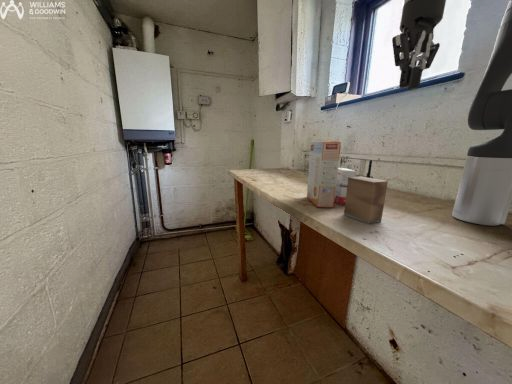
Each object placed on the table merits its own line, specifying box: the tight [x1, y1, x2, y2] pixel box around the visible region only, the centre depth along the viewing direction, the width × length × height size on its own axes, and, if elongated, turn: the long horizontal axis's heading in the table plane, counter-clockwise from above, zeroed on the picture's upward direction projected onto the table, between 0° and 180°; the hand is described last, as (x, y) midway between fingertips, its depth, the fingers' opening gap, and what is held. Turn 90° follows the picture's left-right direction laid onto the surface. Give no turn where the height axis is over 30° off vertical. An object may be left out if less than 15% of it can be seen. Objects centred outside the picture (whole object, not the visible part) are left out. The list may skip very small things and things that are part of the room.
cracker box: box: [306, 140, 342, 209], centre depth 70 cm, size 14×6×21 cm, turn 179°
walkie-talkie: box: [362, 159, 375, 179], centre depth 70 cm, size 5×3×15 cm
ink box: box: [334, 167, 357, 205], centre depth 72 cm, size 9×5×12 cm, turn 179°
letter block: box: [343, 176, 389, 225], centre depth 56 cm, size 5×8×11 cm, turn 23°
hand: (408, 87), depth 48 cm, fingers open, 2 cm apart
